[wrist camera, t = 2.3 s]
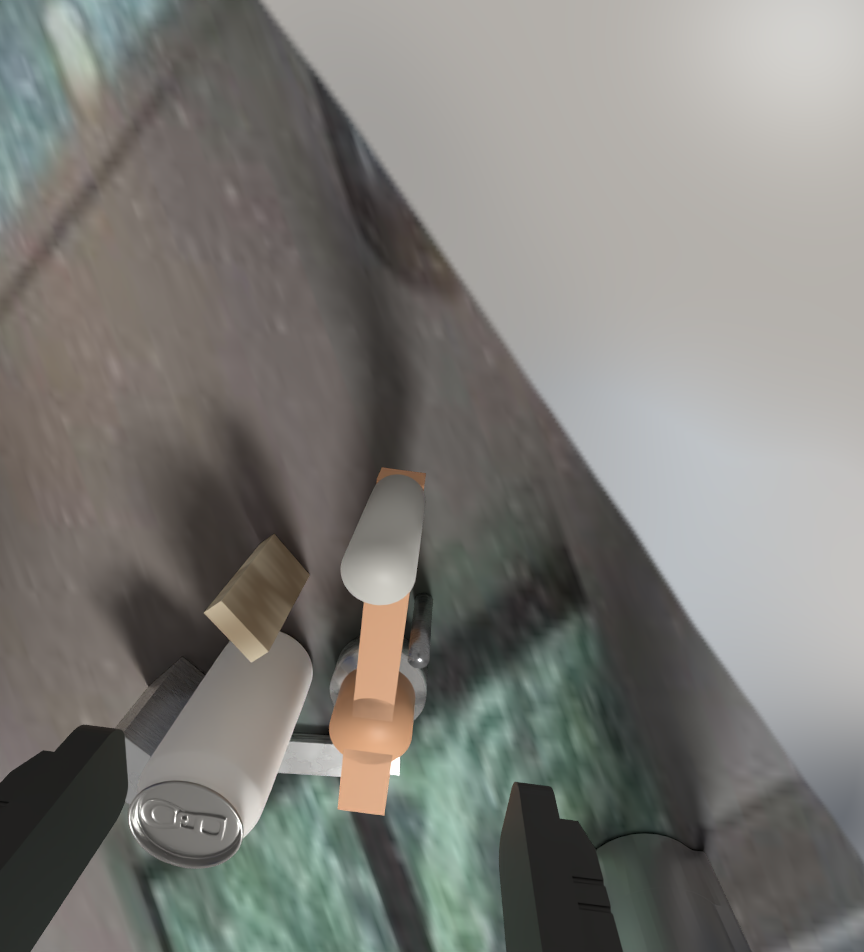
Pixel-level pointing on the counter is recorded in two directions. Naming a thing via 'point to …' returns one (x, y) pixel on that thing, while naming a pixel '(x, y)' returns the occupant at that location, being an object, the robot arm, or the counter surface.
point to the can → (221, 756)
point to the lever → (379, 641)
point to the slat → (259, 598)
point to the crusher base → (304, 750)
